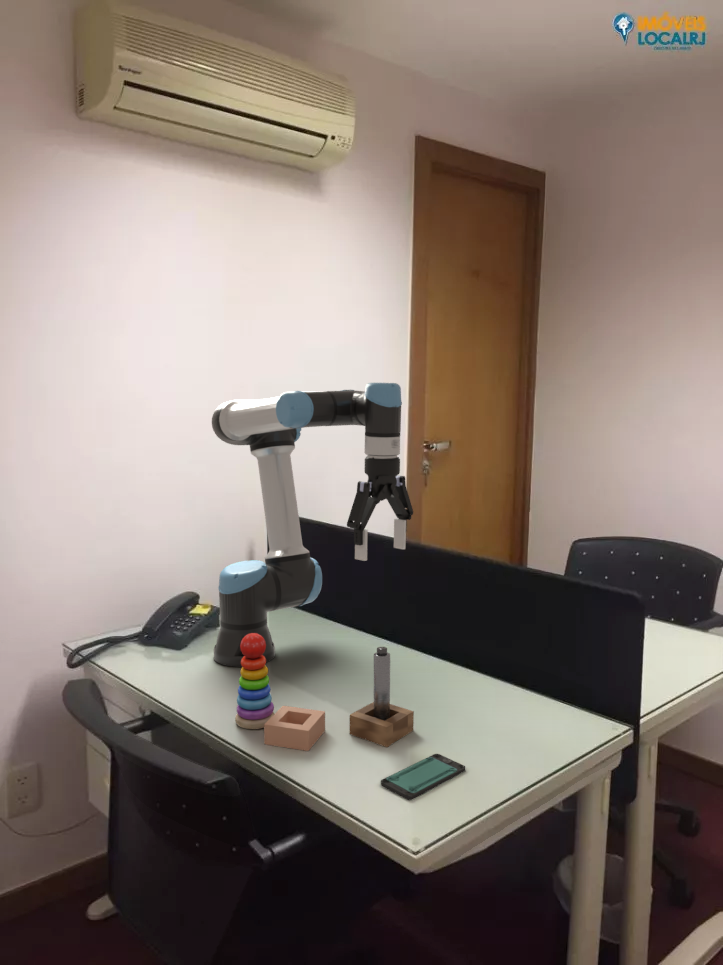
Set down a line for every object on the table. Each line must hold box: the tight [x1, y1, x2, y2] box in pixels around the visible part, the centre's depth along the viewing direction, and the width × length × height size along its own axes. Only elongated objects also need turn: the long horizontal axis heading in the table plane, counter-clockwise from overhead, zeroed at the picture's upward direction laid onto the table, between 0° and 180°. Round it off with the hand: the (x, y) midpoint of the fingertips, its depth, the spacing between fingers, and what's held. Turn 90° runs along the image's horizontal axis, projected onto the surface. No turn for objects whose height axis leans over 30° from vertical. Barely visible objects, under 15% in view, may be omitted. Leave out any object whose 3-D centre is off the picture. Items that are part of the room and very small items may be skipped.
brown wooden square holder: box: [349, 701, 415, 748], centre depth 155 cm, size 9×9×4 cm
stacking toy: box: [234, 633, 275, 730], centre depth 159 cm, size 8×8×19 cm
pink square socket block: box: [263, 705, 326, 752], centre depth 153 cm, size 9×9×4 cm
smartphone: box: [380, 753, 466, 801], centre depth 138 cm, size 7×1×15 cm
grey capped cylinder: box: [373, 646, 391, 721], centre depth 154 cm, size 3×3×17 cm
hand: (380, 554), depth 170 cm, fingers open, 13 cm apart
